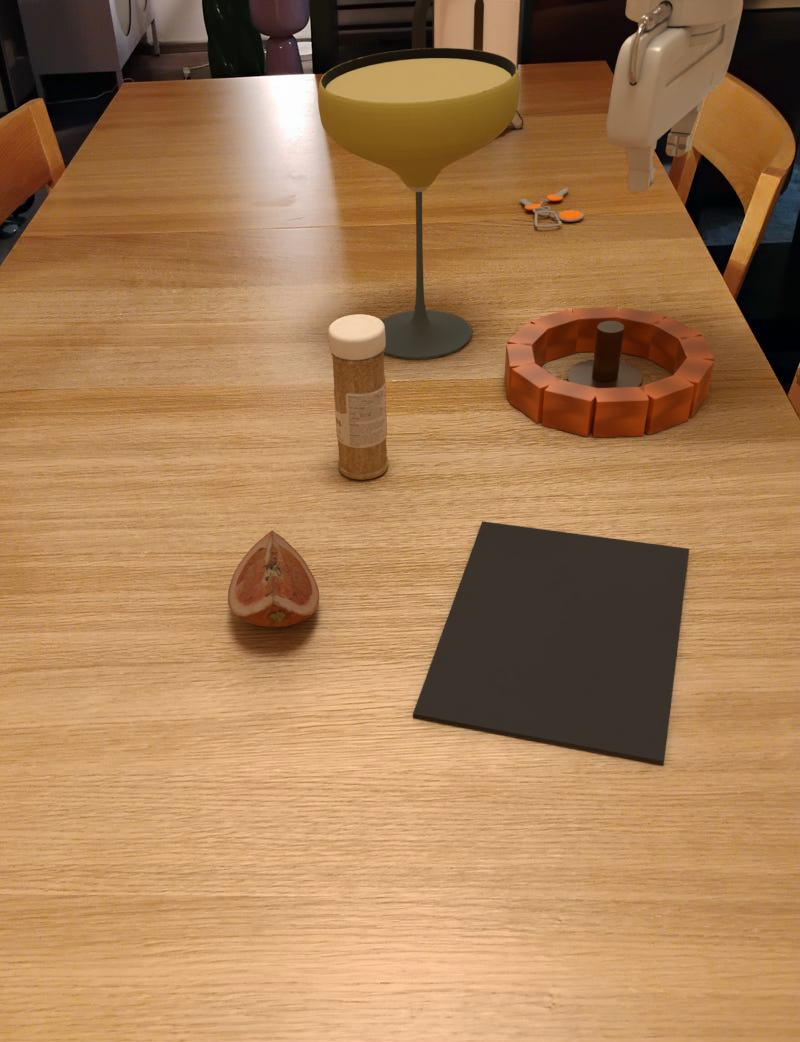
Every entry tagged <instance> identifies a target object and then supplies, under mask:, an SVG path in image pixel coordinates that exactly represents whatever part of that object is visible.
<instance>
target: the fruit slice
mask: <svg viewBox="0 0 800 1042" xmlns="http://www.w3.org/2000/svg"><path fill="white" fill-rule="evenodd" d="M227 603H228V608H229V611H230V612H231V613H232V614H233V615H235V617H237V618H238V619H241V620H242V621H245V622H248V623H249V624H252V625H256V626H259V627H267V628H286V627H288V626H293V625H296V624H299V623H301V622H304V621H305V620H306V619H308V618H310V617H311V616H312V615H313V614H314V613H315V612H316V610H317V609H318V606H319V604H320V591H319V587H318V584H317V581H316V578H315V577H314V575H313V573H312V571H311V570H310V568H309V565H308V563H307V562H306V561H305V559H304V558H303V557H302V555H301V553H299V552H298V551H297V550H296V549H295V548H294V547H293V546H292V545H291V544H290V543H289V542H288V541H287V540H286V539H285V537H282V536H281V535H280V534H278V533H277V532H275V531H274V530H270V531H269V532H268V533H266V534H264V536H263V537H262V538H260V539H259V540H258V541H257V542H256V543H255V544H254V545H253V546H251V548H250V549H249V551H248V552H247V553H246V554H245V555H244V556H243V557H242V559H241V561H240V562H239V564H238V565H237V567H236V569H235V571H234V572H233V575H232V578H231V581H230V583H229V587H228V592H227Z"/></svg>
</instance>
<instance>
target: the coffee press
mask: <svg viewBox="0 0 800 1042" xmlns="http://www.w3.org/2000/svg"><path fill="white" fill-rule="evenodd" d="M431 4H432V48H459V49H471V50H479V51H485V52H489V53H494V54H497V55H500V56H503V57H505V58H507V59H509V60H511V61H512V62H513V63H514V64H515V65H516V67H517V69H518V70H519V61H520V42H521V40H520V39H521V21H522V20H521V18H522V0H416V2H415V5H414V7H413V14H412V22H411V49H423V48H427V45H426V44H427V37H426V36H427V17H428V16H427V15H428V12H429V9H430V6H431ZM516 114H517V115H518V118H519V119H520V120H521V123H520V124H519V125H516V124H515V123H513V120H512V121H511V123H510V124H509V125H511V126H512V127H513V128H514V130H520V129H522V128H523V126H524V124H525V123H524V120H523V119H524V118H523V117H522V115H521V114H520V111H519V110H518V109H517V111H516Z"/></svg>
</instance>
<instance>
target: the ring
mask: <svg viewBox="0 0 800 1042" xmlns="http://www.w3.org/2000/svg"><path fill="white" fill-rule="evenodd" d="M605 321H616V322H619V323H621V324H623V325H624V334H623V342H622V349H621V354H625V355H630V356H635V357H640V358H643V359H644V358H645V359H647V360H650V361H651V362H653V363H655V364H656V365H658V366H660V367H661V368H663V369H665V370H666V371H668V372H670V373H671V374H672V375H670V376H667V377H664V378H661V379H659V380H655V381H653V382H650V383H647V384H645V385H642V386H641V387H620V388H594V387H590V386H586V385H581V384H577V383H573V382H568V381H566V380H564V379H559V378H558V377H556V376H555V375H553V374H552V373H550V372H549V371H548V370H546V369H544V368H543V367H542V366H544V365H545V364H546V363H548V362H551V361H553V360H557V359H560V358H563V357H566V356H569V355H573V354H575V353H594V352H595V343H596V334H597V326H598V324H600V323H602V322H605ZM715 360H716V359H715V356H714V354H713V351H712V349H711V347H710V345H709V343H708V340H707V338H706V336H703V334H702V333H701V332H700V331H698V330H696V329H694V328H692V327H690V326H689V325H687V324H685V323H683V322H681V321H679V320H677V319H676V318H673V317H672V316H667V317H666V315H665V314H662V313H657V312H650V311H645V310H640V309H636V308H635V309H634V308H629V307H624V306H622V307H621V308H620V309H618V306H601V307H600V306H599V307H597V306H596V307H577V308H576V307H575V308H571V310H569V309H564V310H563V309H562V310H561V311H557V312H554V313H551V314H547V315H545V316H541V317H538V318H535V319H532V320H530V322H526V323H525V324H524V325H522V327H521V328H519V330H518V331H517V332H516V333H514V334H513V335H512V336H511V337H510V338H509V339H508V340H507V342H506V344H505V361H504V385H505V391H506V399H507V401H509V404H510V405H511V406H513V407H514V408H515V409H517V410H518V411H520V412H521V413H522V414H524V415H525V416H526V417H528V418H529V419H530V420H532V422H534V423H536V424H539V423H541V426H543V427H546V428H551V429H554V430H558V431H562V432H566V433H570V434H574V435H577V436H582V437H586V438H587V437H588V436H589V435H590V434H591V435H592V438H622V437H623V438H625V437H643V436H644V435H645V433H646V434H647V435H649V436H650V435H653V434H655V433H659V432H660V431H663V430H666V429H670V428H672V427H674V426H677V425H680V424H682V423H686V422H688V421H689V419H692V418H693V417H694V415H695V414H696V412H697V411H698V410H699V409H700V407H701V406H702V405H703V403H704V402H705V400H706V399H707V397H708V395H709V391H710V384H711V380H712V376H713V370H714V366H715Z"/></svg>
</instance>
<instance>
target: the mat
mask: <svg viewBox="0 0 800 1042" xmlns="http://www.w3.org/2000/svg"><path fill="white" fill-rule="evenodd" d="M689 554H690V548H687V547H680V546H672V545H664V544H656V543H651V542H642V541H634V540H627V539H619V538H612V537H604V536H598V535H589V534H581V533H575V532H567V531H559V530H551V529H544V528H535V527H529V526H520V525H515V524H514V525H513V524H508V523H507V524H506V523H498V522H491V521H482V522H481V523H480V526H479V529H478V532H477V534H476V537H475V540H474V542H473V546H472V549H471V551H470V554H469V557H468V559H467V563H466V564H465V568H464V571H463V574H462V575H461V579H460V582H459V584H458V587H457V590H456V593H455V595H454V599H453V601H452V604H451V606H450V610H449V613H448V615H447V617H446V621H445V623H444V626H443V629H442V632H441V634H440V637H439V640H438V643H437V646H436V648H435V651H434V653H433V657H432V660H431V661H430V665H429V668H428V671H427V673H426V676H425V679H424V682H423V685H422V687H421V689H420V693H419V695H418V698H417V701H416V704H415V706H414V710H413V712H412V718H413V719H418V720H424V721H429V722H434V723H440V724H445V725H448V726H449V725H450V726H456V727H460V728H465V729H470V730H476V731H482V732H488V733H493V734H497V735H502V736H508V737H513V738H519V739H522V740H528V741H535V742H540V743H544V744H549V745H555V746H559V747H565V748H571V749H575V750H581V751H586V752H590V753H591V752H592V753H597V754H602V755H608V756H612V757H617V758H623V759H628V760H633V761H639V762H645V763H650V764H654V765H661V766H664V764H665V757H666V749H667V740H668V733H669V723H670V715H671V708H672V707H671V706H672V697H673V691H674V690H673V689H674V681H675V675H676V674H675V672H676V664H677V657H678V656H677V655H678V647H679V641H680V632H681V631H680V630H681V622H682V615H683V607H684V597H685V589H686V580H687V572H688V564H689V563H688V562H689Z"/></svg>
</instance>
